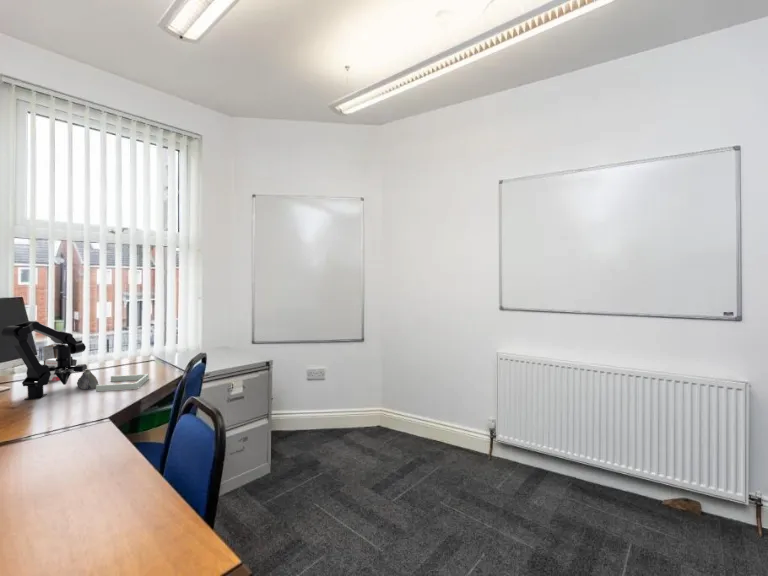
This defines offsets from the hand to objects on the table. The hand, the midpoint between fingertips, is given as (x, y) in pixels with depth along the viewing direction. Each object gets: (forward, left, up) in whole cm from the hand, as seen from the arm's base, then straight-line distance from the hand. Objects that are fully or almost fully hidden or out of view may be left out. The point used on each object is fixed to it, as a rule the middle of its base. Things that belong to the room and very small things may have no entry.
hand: (64, 384), depth 203 cm
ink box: (+20, +14, -2) cm, 24 cm away
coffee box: (+43, +26, -2) cm, 50 cm away
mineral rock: (0, -11, -2) cm, 11 cm away
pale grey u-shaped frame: (0, -28, -2) cm, 28 cm away
